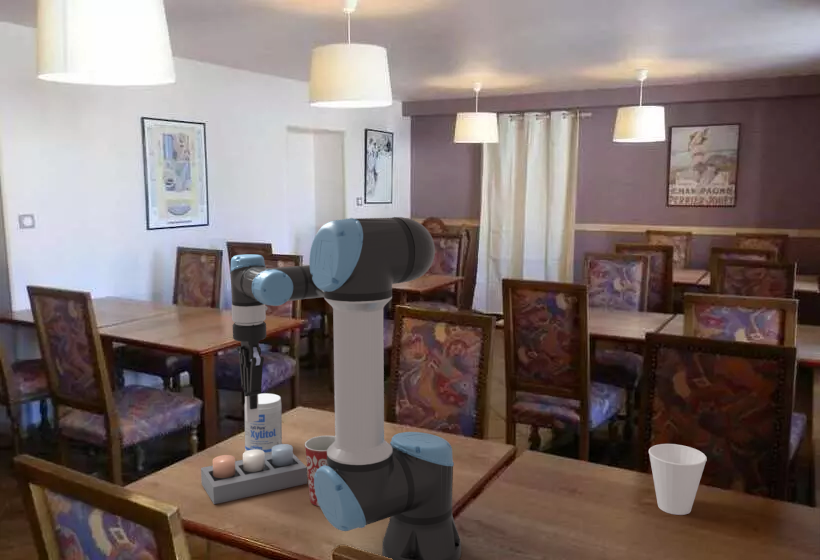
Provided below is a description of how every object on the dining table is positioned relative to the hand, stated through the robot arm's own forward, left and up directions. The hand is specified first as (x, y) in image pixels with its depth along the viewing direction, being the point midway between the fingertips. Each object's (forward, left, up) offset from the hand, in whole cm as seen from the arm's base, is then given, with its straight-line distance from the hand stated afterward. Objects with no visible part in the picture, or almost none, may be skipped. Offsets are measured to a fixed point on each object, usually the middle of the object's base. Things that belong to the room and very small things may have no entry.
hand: (252, 420), depth 161 cm
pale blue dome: (0, -7, -12) cm, 13 cm away
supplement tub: (+18, -8, -16) cm, 25 cm away
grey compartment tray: (0, 0, -16) cm, 16 cm away
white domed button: (0, 0, -12) cm, 12 cm away
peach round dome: (0, +7, -12) cm, 13 cm away
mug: (-15, -13, -16) cm, 25 cm away
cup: (-57, -77, -16) cm, 97 cm away
